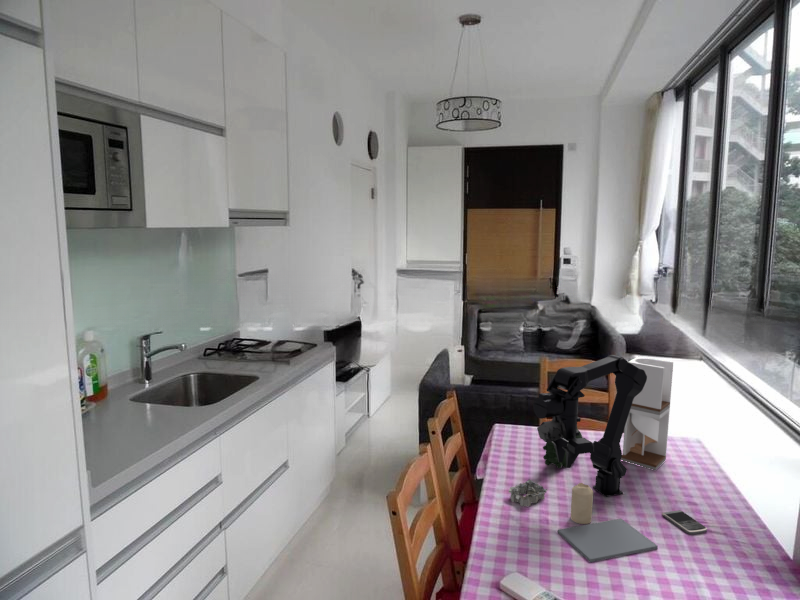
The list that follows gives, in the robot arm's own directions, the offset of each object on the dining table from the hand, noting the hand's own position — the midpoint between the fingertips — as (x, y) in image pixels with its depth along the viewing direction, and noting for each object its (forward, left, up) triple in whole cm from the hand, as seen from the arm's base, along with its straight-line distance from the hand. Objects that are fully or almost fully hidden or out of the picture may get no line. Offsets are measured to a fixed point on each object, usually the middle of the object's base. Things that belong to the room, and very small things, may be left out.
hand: (564, 464), depth 167 cm
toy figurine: (-17, -26, -12) cm, 33 cm away
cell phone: (-26, +19, -13) cm, 35 cm away
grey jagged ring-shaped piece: (+8, -6, -12) cm, 16 cm away
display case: (-44, -18, -12) cm, 49 cm away
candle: (0, +9, -12) cm, 15 cm away
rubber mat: (0, +20, -12) cm, 23 cm away
